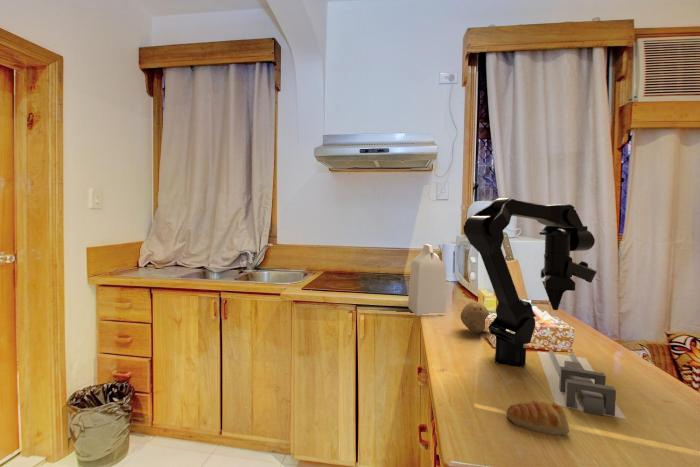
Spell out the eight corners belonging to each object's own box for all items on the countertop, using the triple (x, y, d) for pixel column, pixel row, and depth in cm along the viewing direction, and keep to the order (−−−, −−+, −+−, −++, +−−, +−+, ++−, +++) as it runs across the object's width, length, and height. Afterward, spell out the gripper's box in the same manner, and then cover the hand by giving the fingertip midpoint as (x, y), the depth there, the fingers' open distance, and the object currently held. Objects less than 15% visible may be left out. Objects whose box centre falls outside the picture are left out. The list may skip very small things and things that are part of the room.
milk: (407, 307, 137) (409, 243, 136) (435, 306, 138) (436, 243, 137) (416, 315, 125) (418, 246, 124) (446, 315, 126) (448, 246, 125)
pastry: (512, 432, 58) (513, 410, 58) (502, 410, 65) (503, 390, 65) (572, 439, 56) (573, 417, 56) (555, 416, 63) (556, 396, 63)
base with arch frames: (556, 408, 65) (557, 381, 65) (537, 353, 91) (538, 333, 91) (626, 422, 61) (628, 393, 61) (585, 360, 87) (586, 340, 87)
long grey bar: (583, 411, 63) (584, 395, 63) (563, 373, 79) (564, 360, 79) (603, 415, 62) (604, 399, 62) (579, 375, 78) (579, 362, 77)
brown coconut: (453, 330, 109) (454, 300, 109) (473, 326, 114) (474, 297, 113) (475, 339, 101) (476, 306, 101) (495, 335, 105) (497, 303, 105)
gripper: (602, 257, 78) (599, 324, 78) (586, 250, 94) (584, 305, 95) (546, 255, 82) (544, 317, 83) (541, 248, 99) (539, 300, 100)
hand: (555, 309), depth 90 cm, fingers closed
